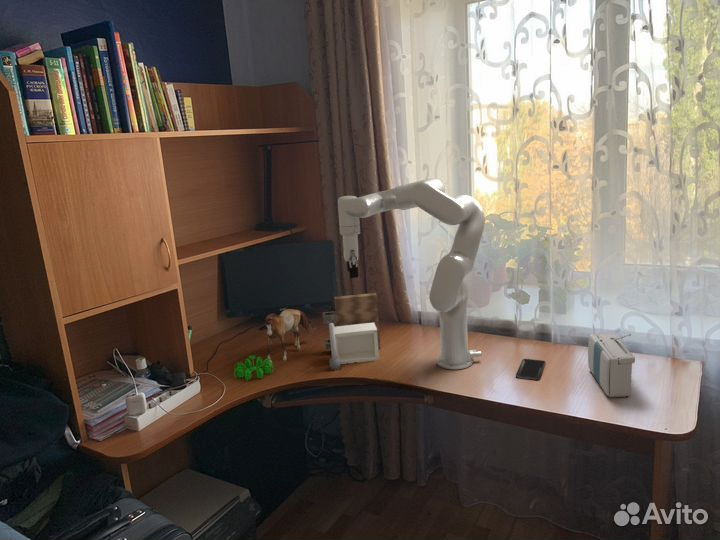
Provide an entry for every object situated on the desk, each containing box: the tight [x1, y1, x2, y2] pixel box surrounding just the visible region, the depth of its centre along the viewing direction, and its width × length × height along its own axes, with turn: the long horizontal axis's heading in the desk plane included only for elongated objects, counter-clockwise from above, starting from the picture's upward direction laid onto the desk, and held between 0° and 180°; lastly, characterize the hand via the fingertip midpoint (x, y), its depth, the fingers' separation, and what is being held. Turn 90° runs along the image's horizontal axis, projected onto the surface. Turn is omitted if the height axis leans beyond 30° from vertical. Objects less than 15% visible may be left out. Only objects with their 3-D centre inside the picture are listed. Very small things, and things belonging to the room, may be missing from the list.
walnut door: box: [322, 292, 381, 352], centre depth 222 cm, size 21×5×22 cm, turn 96°
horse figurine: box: [264, 308, 317, 365], centre depth 223 cm, size 31×8×21 cm, turn 153°
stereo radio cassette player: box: [587, 333, 636, 398], centre depth 179 cm, size 21×8×20 cm, turn 174°
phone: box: [515, 358, 547, 381], centre depth 195 cm, size 8×1×15 cm
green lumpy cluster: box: [233, 354, 274, 382], centre depth 209 cm, size 15×15×7 cm
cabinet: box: [328, 323, 380, 371], centre depth 212 cm, size 18×13×17 cm
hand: (353, 274), depth 217 cm, fingers open, 9 cm apart
